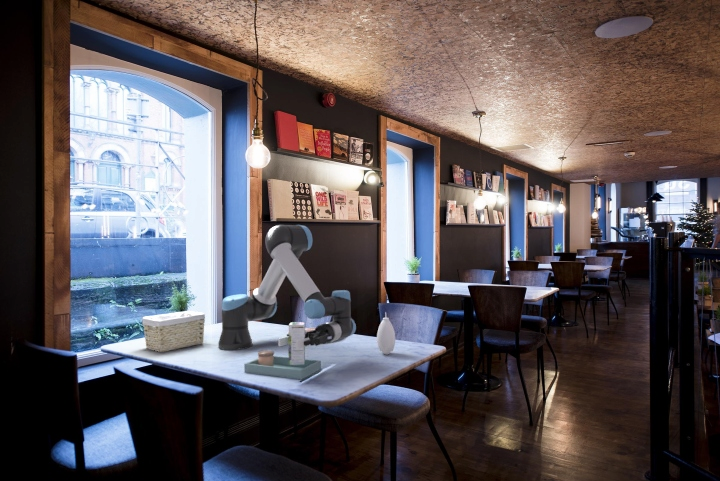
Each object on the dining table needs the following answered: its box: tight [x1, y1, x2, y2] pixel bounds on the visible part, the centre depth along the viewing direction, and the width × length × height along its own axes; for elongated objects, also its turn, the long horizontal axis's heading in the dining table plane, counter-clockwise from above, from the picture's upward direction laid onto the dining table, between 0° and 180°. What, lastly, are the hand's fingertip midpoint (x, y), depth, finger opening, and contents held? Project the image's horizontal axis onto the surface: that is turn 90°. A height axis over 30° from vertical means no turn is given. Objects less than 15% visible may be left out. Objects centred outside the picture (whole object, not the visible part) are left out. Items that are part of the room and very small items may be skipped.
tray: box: [243, 355, 322, 383], centre depth 173 cm, size 24×14×4 cm, turn 66°
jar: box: [257, 350, 275, 367], centre depth 176 cm, size 6×6×6 cm
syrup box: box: [288, 321, 306, 365], centre depth 171 cm, size 6×6×14 cm
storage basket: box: [141, 310, 206, 353], centre depth 220 cm, size 24×16×15 cm
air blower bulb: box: [376, 312, 396, 355], centre depth 201 cm, size 8×8×18 cm
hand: (287, 343), depth 167 cm, fingers closed on syrup box, 8 cm apart
